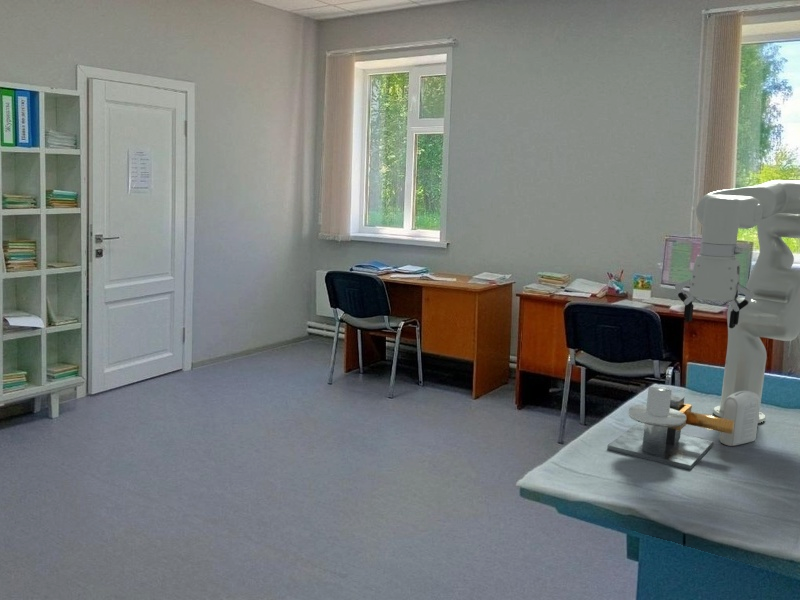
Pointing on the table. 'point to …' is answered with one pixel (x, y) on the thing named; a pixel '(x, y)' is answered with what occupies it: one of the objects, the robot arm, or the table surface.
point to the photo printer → (741, 417)
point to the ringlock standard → (653, 435)
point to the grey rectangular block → (678, 404)
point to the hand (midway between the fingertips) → (710, 324)
